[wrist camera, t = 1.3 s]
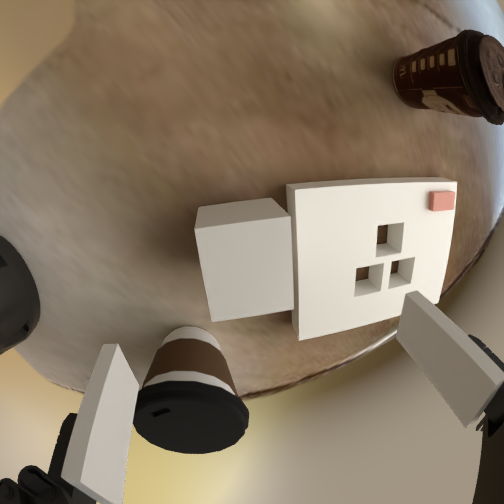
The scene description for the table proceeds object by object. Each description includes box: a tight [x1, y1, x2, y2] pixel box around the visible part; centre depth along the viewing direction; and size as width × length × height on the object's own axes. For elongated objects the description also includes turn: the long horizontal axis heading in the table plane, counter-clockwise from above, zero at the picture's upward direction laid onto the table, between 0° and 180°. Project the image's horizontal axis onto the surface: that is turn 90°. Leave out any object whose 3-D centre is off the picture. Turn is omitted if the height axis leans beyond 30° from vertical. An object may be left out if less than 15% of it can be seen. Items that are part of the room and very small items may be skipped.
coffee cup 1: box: [133, 326, 249, 454], centre depth 26 cm, size 11×11×12 cm
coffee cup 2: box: [393, 30, 504, 125], centre depth 17 cm, size 9×8×13 cm
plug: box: [194, 198, 294, 322], centre depth 23 cm, size 7×6×9 cm
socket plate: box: [286, 177, 457, 341], centre depth 28 cm, size 16×20×4 cm
